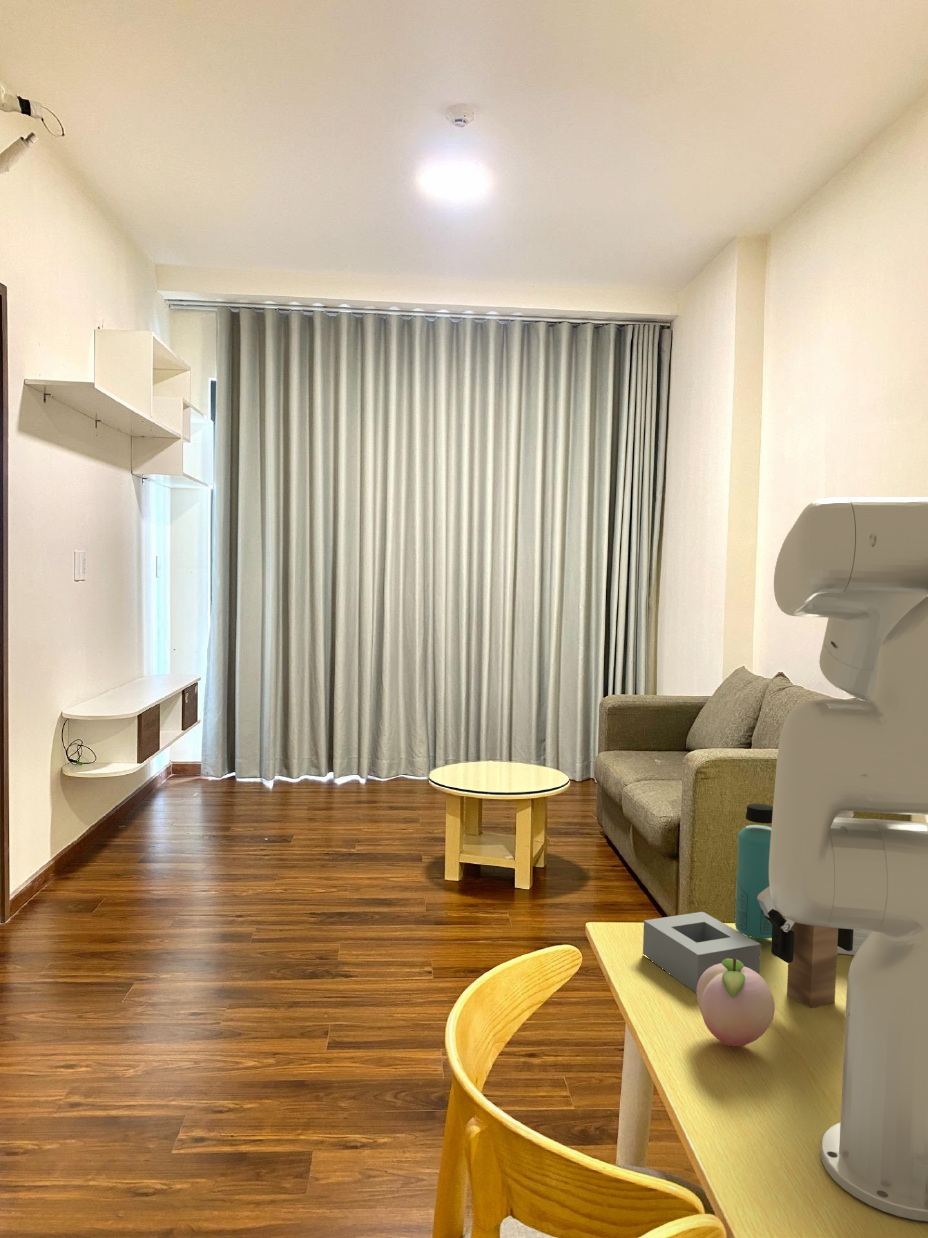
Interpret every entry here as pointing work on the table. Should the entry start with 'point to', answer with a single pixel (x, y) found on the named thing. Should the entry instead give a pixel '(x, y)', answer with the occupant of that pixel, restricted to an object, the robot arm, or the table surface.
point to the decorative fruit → (735, 1002)
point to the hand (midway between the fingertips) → (811, 952)
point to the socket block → (696, 946)
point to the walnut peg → (813, 965)
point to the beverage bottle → (753, 872)
